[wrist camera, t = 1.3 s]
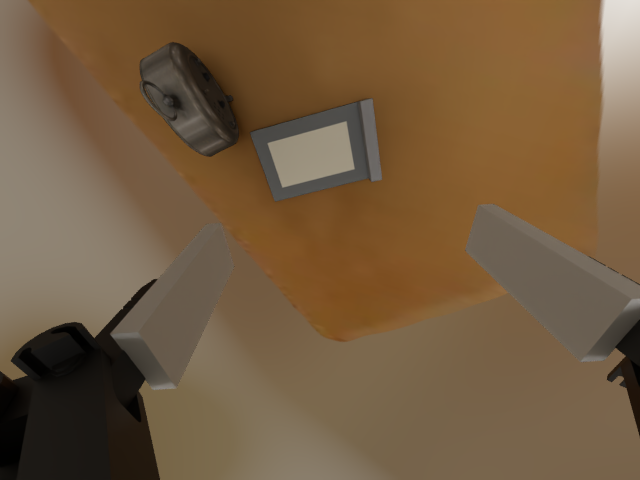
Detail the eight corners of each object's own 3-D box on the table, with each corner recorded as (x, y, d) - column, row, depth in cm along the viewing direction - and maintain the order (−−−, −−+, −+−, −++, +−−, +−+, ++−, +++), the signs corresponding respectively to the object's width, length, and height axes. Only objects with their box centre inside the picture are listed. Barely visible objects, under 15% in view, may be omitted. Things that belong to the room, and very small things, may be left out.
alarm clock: (177, 69, 31) (65, 39, 17) (211, 48, 30) (122, -1, 16) (225, 149, 36) (169, 177, 22) (255, 134, 35) (217, 153, 21)
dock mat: (251, 131, 35) (246, 134, 33) (367, 98, 33) (372, 98, 31) (275, 199, 41) (273, 206, 38) (377, 174, 39) (382, 179, 36)
